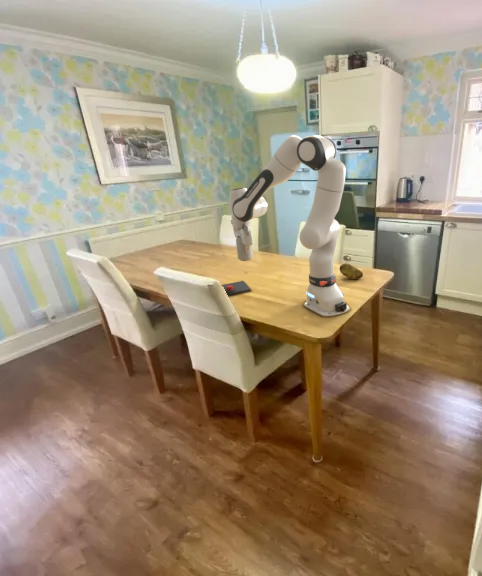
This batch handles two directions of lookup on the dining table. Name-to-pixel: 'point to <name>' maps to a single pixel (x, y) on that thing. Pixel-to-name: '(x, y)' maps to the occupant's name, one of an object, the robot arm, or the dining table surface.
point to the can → (243, 251)
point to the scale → (237, 288)
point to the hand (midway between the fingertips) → (244, 250)
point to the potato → (350, 271)
